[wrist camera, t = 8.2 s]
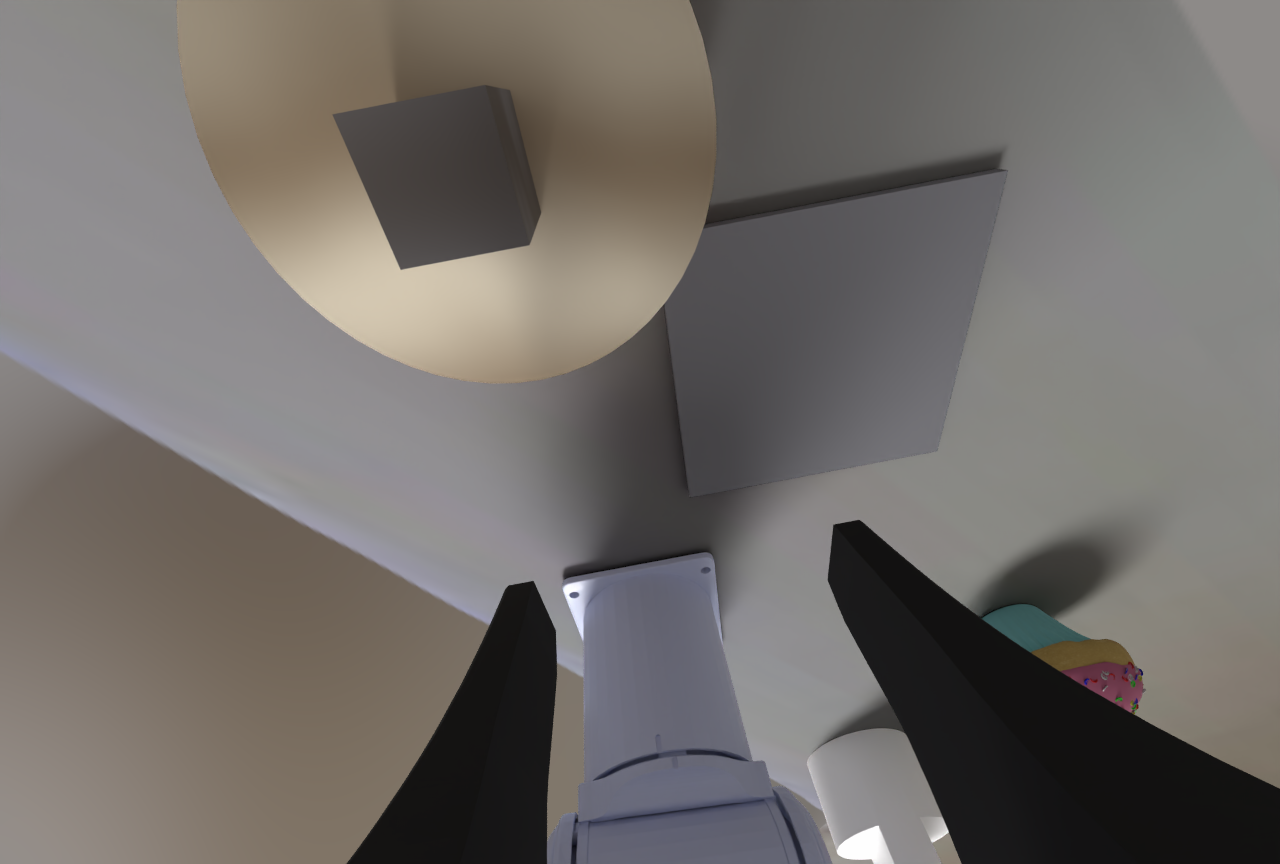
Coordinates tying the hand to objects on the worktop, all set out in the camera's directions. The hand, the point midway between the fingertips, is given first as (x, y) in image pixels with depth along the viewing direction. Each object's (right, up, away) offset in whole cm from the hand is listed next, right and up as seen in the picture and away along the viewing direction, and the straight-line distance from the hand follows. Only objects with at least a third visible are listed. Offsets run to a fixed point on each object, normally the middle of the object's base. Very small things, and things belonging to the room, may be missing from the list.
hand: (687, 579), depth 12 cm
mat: (+6, +7, +8) cm, 12 cm away
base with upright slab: (+18, -24, +31) cm, 43 cm away
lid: (-5, +10, 0) cm, 11 cm away
